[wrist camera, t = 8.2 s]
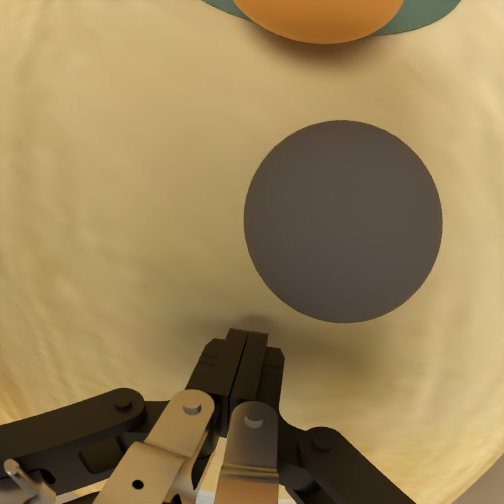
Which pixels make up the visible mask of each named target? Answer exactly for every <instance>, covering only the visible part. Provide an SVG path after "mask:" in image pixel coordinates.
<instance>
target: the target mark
mask: <svg viewBox="0 0 504 504" xmlns="http://www.w3.org/2000/svg"><path fill="white" fill-rule="evenodd" d="M203 1H205V2H207V3H208V4H210V5H212V6H215V7H217V8H219V9H221V10H223V11H225V12H228V13H230V14H233V15H236V16H239V17H242V18H245V19H247V20H250V21H253V20H251V19H250V18H249V17H248V16H246V15H245V14H244V13H243V12H242V11H241V10H240V9H239V8H238V7H237V6H236V4H235V3H234V2H233V0H203ZM459 2H460V0H404V2H403V4H402V6H401V8H400V9H399V11H398V12H397V14H396V15H395V16H394V17H393V18H392V20H390V21H389V22H388V23H387V24H386V25H385V26H383V27H382V28H380V29H378V30H377V31H375V32H374V33H372V34H370V35H367V36H375V35H385V34H395V33H400V32H404V31H409V30H414V29H417V28H420V27H423V26H426V25H429V24H431V23H433V22H435V21H436V20H438V19H440V18H442V17H444V16H445V15H446V14H447V13H449V12H450V11H451V10H452V9H453V8H455V7H456V6H457V4H458V3H459Z"/></svg>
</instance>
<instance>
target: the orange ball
mask: <svg viewBox="0 0 504 504" xmlns="http://www.w3.org/2000/svg"><path fill="white" fill-rule="evenodd" d="M233 2H234V3H235V4H236V6H237V7H238V8H239V9H240V10H241V11H242V12H243V13H244V14H245V15H246V16H248V17H249V18H250V19H251V20H253V21H254V22H255V23H257V24H259V25H260V26H262V27H263V28H265V29H267V30H269V31H271V32H273V33H275V34H277V35H280V36H283V37H286V38H289V39H292V40H296V41H301V42H307V43H316V44H336V43H343V42H349V41H353V40H356V39H360V38H363V37H365V36H367V35H370V34H372V33H374V32H375V31H377V30H378V29H380V28H382V27H383V26H385V25H386V24H387V23H388V22H389V21H390V20H392V18H393V17H394V16H395V15H396V14H397V12H398V11H399V9H400V8H401V6H402V4H403V2H404V0H233Z"/></svg>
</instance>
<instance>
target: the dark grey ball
mask: <svg viewBox="0 0 504 504" xmlns="http://www.w3.org/2000/svg"><path fill="white" fill-rule="evenodd" d="M442 224H443V222H442V209H441V203H440V199H439V195H438V191H437V189H436V186H435V183H434V181H433V179H432V177H431V175H430V173H429V171H428V170H427V168H426V166H425V165H424V164H423V162H422V161H421V159H420V158H419V157H418V156H417V155H416V154H415V152H414V151H413V150H412V149H411V148H410V147H408V146H407V145H406V144H405V143H404V142H403V141H401V140H400V139H399V138H397V137H396V136H394V135H392V134H391V133H389V132H387V131H385V130H383V129H380V128H378V127H375V126H373V125H370V124H366V123H362V122H356V121H348V120H335V121H327V122H322V123H318V124H314V125H311V126H308V127H305V128H303V129H301V130H298V131H296V132H295V133H293V134H291V135H290V136H288V137H287V138H285V139H284V140H283V141H281V142H280V143H279V144H278V145H277V146H275V147H274V148H273V149H272V151H271V152H270V153H269V154H268V155H267V156H266V157H265V159H264V160H263V161H262V163H261V164H260V166H259V168H258V169H257V171H256V173H255V175H254V177H253V179H252V181H251V184H250V187H249V190H248V193H247V197H246V202H245V209H244V231H245V238H246V243H247V247H248V251H249V254H250V257H251V259H252V261H253V264H254V266H255V268H256V270H257V272H258V273H259V275H260V276H261V278H262V279H263V281H264V282H265V284H266V285H267V286H268V287H269V289H270V290H271V291H272V292H273V293H274V294H275V295H276V296H277V297H278V298H279V299H280V300H282V301H283V302H284V303H286V304H287V305H289V306H290V307H292V308H293V309H295V310H296V311H298V312H300V313H302V314H304V315H307V316H309V317H312V318H315V319H318V320H322V321H327V322H333V323H354V322H362V321H367V320H371V319H374V318H377V317H380V316H382V315H384V314H387V313H389V312H391V311H392V310H394V309H396V308H397V307H399V306H400V305H402V304H403V303H404V302H406V301H407V300H408V299H409V298H410V297H411V296H412V295H413V294H414V293H415V292H416V291H417V290H418V289H419V288H420V287H421V285H422V284H423V282H424V281H425V279H426V278H427V276H428V275H429V273H430V271H431V270H432V267H433V265H434V263H435V260H436V258H437V255H438V252H439V248H440V243H441V237H442Z"/></svg>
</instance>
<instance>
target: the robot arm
mask: <svg viewBox="0 0 504 504" xmlns="http://www.w3.org/2000/svg"><path fill="white" fill-rule="evenodd" d="M268 336H269V334H267V333H260V332H253V331H250V333H249V331H246V330H240V329H234V328H230V329H229V331H228V334H227V336H226V339H225V340H223V339H217V338H214V339H213V340H212V341H210V342H209V343H208V344H206V346H205V348H204V350H203V352H202V355H201V356H200V358H199V360H198V363H197V365H196V367H195V369H194V371H193V373H192V375H191V377H190V380H189V382H188V384H187V386H186V388H185V390H184V391H181V392H178V393H177V394H175V395H174V396H173V397H172V398H171V400H169V401H144V399H143V397H142V395H141V394H140V393H138V392H137V391H135V390H133V389H129V388H119V389H115V390H112V391H109V392H107V393H104V394H101V395H98V396H95V397H92V398H89V399H87V400H84V401H81V402H78V403H75V404H72V405H69V406H65V407H62V408H59V409H56V410H53V411H50V412H46V413H43V414H40V415H36V416H33V417H29V418H26V419H22V420H19V421H15V422H11V423H8V424H4V425H0V504H55V501H56V496H58V495H61V494H64V493H67V492H71V491H74V490H77V489H80V488H83V487H86V486H88V485H91V484H94V483H97V482H100V481H102V480H105V479H107V478H109V479H108V481H107V482H106V484H105V485H104V487H103V488H102V490H101V491H98V492H94V493H90V494H87V495H85V496H82V497H80V498H77V499H75V500H72V501H69V502H66V503H63V504H195V503H196V498H197V494H198V492H199V489H200V487H201V485H202V482H203V480H204V478H205V475H206V473H207V471H208V468H209V466H210V464H211V461H212V459H213V456H214V454H215V448H216V446H217V443H218V439H219V437H224V438H227V435H228V438H227V444H226V450H225V455H224V461H223V465H222V467H221V470H220V474H219V479H218V484H217V490H216V495H215V500H214V504H278V488H279V484H281V485H283V486H285V489H286V491H287V492H288V493H289V495H290V496H291V497H292V498H293V499H294V501H295V502H296V503H297V504H416V503H415V502H414V501H413V500H412V499H410V498H409V497H408V496H407V495H406V494H405V493H404V492H402V491H401V490H400V489H399V488H398V487H397V486H396V485H394V484H393V483H392V482H391V481H390V480H389V479H388V478H387V477H386V476H385V475H383V474H382V473H381V472H380V471H379V470H378V469H377V468H376V467H375V466H374V465H373V464H372V463H370V462H369V461H368V460H367V459H366V458H365V457H364V456H363V455H362V454H361V453H360V452H359V451H358V450H357V449H356V448H355V447H354V446H353V445H352V444H351V443H350V442H348V441H347V440H346V439H345V438H344V437H343V436H342V435H341V434H340V433H339V432H338V431H336V430H334V429H332V428H328V427H314V428H311V429H309V430H307V431H304V430H301V429H299V428H296V427H294V426H291V425H290V424H288V423H287V422H286V421H285V420H284V419H283V418H282V416H281V415H280V412H279V401H280V393H281V385H282V376H283V368H284V360H285V357H284V355H283V353H282V351H281V349H280V348H274V347H267V343H268ZM228 431H229V433H228Z"/></svg>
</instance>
